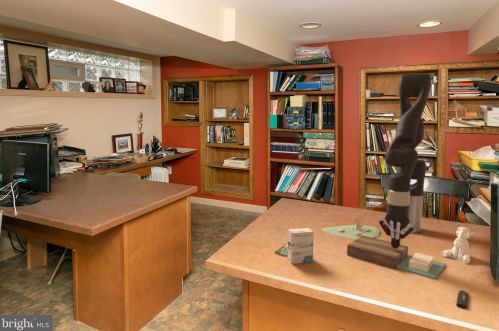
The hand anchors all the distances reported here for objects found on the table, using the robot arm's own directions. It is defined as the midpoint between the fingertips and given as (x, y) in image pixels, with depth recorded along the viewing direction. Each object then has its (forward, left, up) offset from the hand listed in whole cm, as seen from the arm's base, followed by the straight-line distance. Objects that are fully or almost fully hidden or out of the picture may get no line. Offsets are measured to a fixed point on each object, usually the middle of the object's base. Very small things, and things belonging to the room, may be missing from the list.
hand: (395, 247), depth 127 cm
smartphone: (+17, -35, -6) cm, 39 cm away
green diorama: (-19, -26, -6) cm, 33 cm away
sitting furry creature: (-19, +17, -5) cm, 26 cm away
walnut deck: (0, -7, -5) cm, 8 cm away
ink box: (+23, -27, -5) cm, 35 cm away
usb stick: (+15, +25, -6) cm, 29 cm away
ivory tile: (-1, +9, -2) cm, 9 cm away
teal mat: (-1, +9, -5) cm, 10 cm away
